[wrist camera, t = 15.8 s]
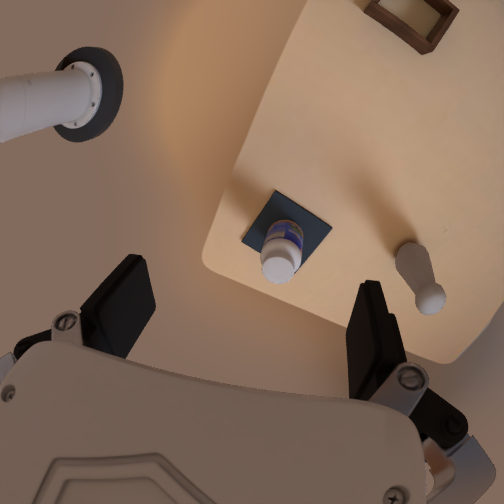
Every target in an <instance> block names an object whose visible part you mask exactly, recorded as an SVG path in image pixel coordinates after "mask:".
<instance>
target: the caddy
mask: <svg viewBox="0 0 504 504" xmlns="http://www.w3.org/2000/svg"><path fill="white" fill-rule="evenodd" d="M379 1H380V0H372V1H371V2H370V3H369V5H368V6H367V8H366V9H365V11H364V13H365V14H367V15H369V16H370V17H372V18H373V19H375V20H376V21H378V22H379V23H381V24H382V25H383V26H385V27H386V28H388V29H389V30H391V31H392V32H393V33H395V34H396V35H397V36H399V37H400V38H401V39H403V40H404V41H405V42H406V43H408V44H409V45H410V46H411V47H413V48H414V49H415V50H416V51H418V52H419V53H420V54H421V55H423V54H427V53H430V52H433V51H434V49H435V48H436V46H437V45H438V43H439V42H440V40H441V39H442V37H443V35H444V34H445V32H446V31H447V29H448V28H449V26H450V25H451V23H452V22H453V20H454V18H455V17H456V15H457V14H458V12H459V11H460V10H459V9H458V8H457V7H456V6H454V5H453V4H452V3H451V2H450V1H449V0H424V1H426V2H427V3H428V4H429V5H431V6H432V7H433V8H434V9H435V10H437V11H438V12H439V13H440V14H441V15H442V16H441V17H440V19H439V20H438V22H437V23H436V25H435V26H434V28H433V29H432V31H431V32H430V34H429V35H428V37H427V38H426V39H424V38H423V37H422V36H421V35H420V34H418V33H417V32H416V31H415V30H413V29H412V28H411V27H409V26H408V25H407V24H406V23H404V22H403V21H402V20H400V19H399V18H397V17H396V16H395V15H393V14H392V13H390V12H389V11H387V10H386V9H384V8H383V7H381V6H380V5H378V2H379Z"/></svg>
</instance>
